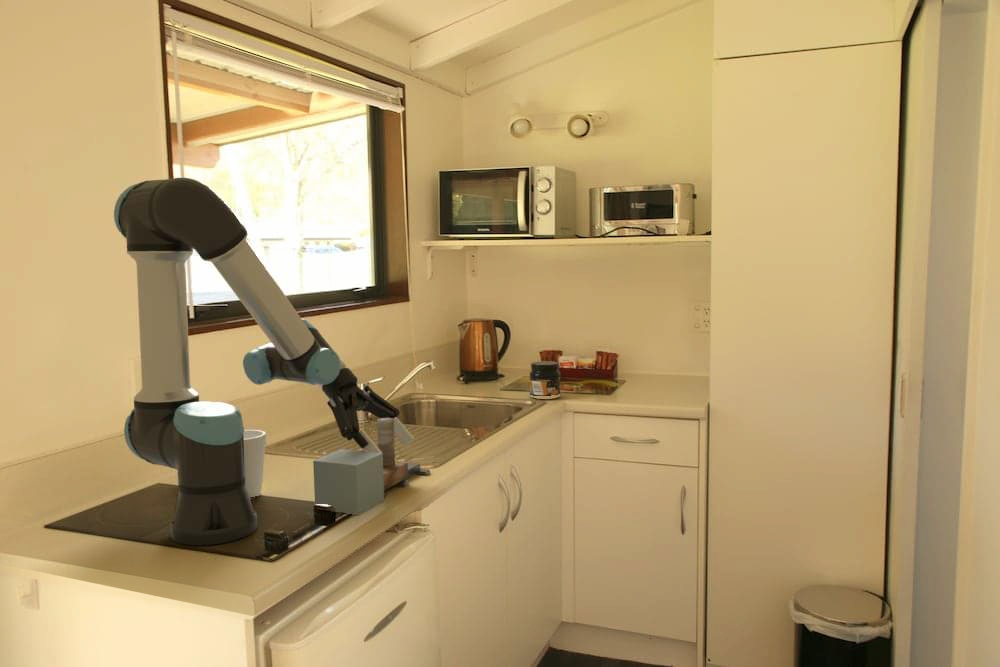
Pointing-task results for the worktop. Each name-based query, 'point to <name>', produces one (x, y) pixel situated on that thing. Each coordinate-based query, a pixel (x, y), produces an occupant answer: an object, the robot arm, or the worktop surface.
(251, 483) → the foam cup
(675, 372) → the worktop surface
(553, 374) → the supplement container
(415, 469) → the rail
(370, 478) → the grey box
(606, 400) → the worktop surface
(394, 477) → the grey peg on base
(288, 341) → the robot arm
